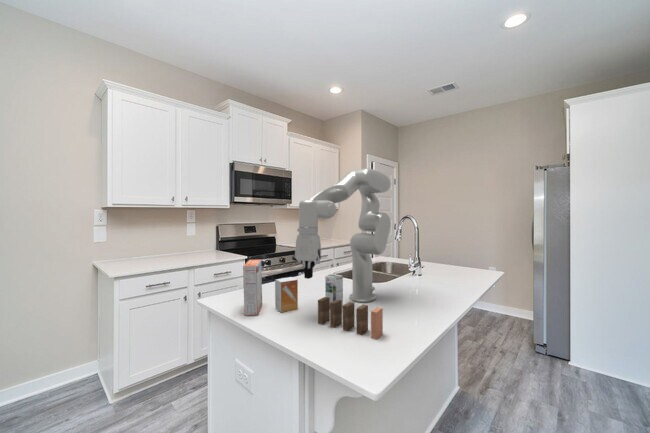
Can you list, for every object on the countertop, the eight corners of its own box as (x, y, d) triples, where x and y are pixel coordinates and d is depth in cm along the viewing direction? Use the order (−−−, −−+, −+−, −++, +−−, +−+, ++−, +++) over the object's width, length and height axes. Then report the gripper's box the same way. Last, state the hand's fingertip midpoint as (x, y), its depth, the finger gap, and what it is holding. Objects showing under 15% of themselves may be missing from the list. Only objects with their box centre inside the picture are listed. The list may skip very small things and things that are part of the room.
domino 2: (330, 326, 106) (329, 302, 106) (337, 322, 110) (337, 299, 110) (334, 328, 105) (334, 303, 105) (341, 323, 109) (341, 300, 109)
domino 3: (342, 330, 103) (342, 305, 103) (349, 325, 107) (349, 301, 107) (347, 331, 102) (347, 306, 102) (354, 326, 106) (354, 302, 106)
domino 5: (371, 337, 97) (370, 311, 97) (377, 332, 101) (377, 307, 101) (376, 339, 96) (376, 312, 95) (382, 333, 100) (382, 308, 100)
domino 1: (318, 323, 109) (317, 300, 109) (325, 319, 113) (325, 296, 113) (322, 324, 108) (322, 301, 108) (329, 320, 112) (329, 297, 112)
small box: (281, 312, 121) (280, 282, 121) (275, 308, 126) (274, 279, 126) (298, 309, 125) (297, 279, 125) (291, 305, 131) (291, 276, 130)
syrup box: (324, 308, 126) (324, 275, 125) (333, 305, 130) (333, 273, 130) (334, 311, 122) (334, 277, 122) (343, 308, 126) (343, 275, 126)
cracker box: (249, 304, 131) (248, 259, 131) (262, 304, 132) (262, 259, 131) (243, 316, 117) (242, 265, 117) (258, 315, 118) (257, 264, 117)
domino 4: (356, 334, 100) (356, 308, 100) (363, 329, 104) (362, 304, 104) (361, 335, 99) (361, 309, 99) (368, 330, 103) (367, 305, 103)
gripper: (287, 231, 115) (288, 277, 115) (318, 233, 106) (318, 282, 107) (299, 230, 121) (300, 273, 121) (329, 231, 113) (329, 278, 113)
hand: (308, 277), depth 114 cm, fingers closed
